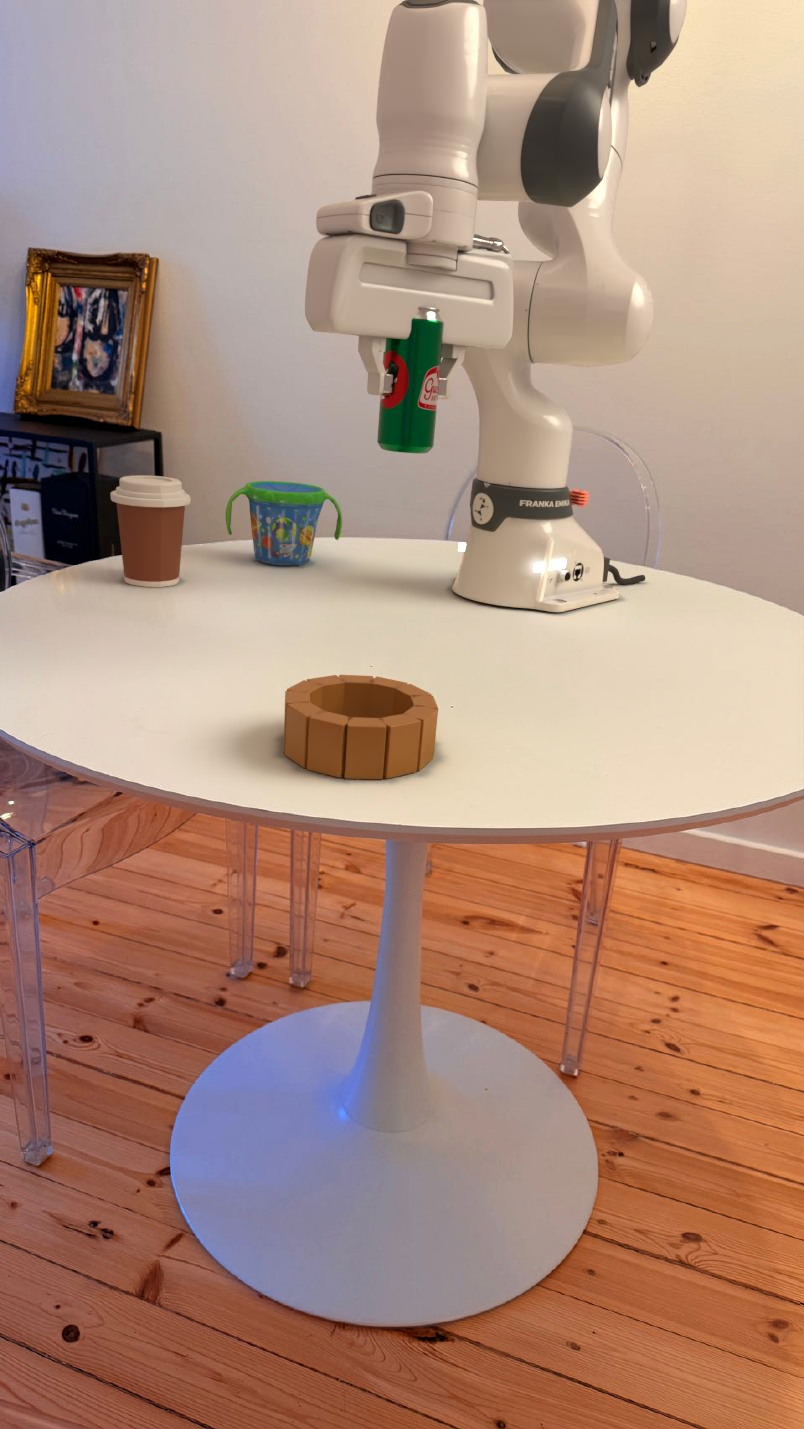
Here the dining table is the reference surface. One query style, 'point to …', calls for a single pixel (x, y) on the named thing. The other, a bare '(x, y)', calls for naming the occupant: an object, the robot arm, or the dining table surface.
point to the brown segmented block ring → (359, 726)
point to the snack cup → (283, 519)
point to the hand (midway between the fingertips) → (408, 397)
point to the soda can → (412, 386)
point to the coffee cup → (150, 528)
